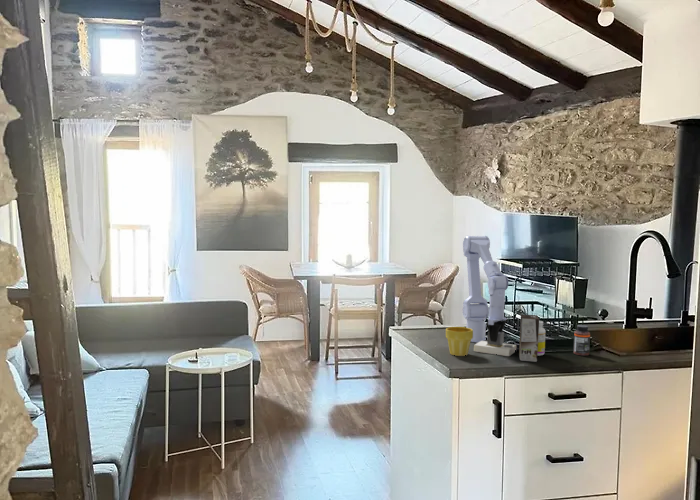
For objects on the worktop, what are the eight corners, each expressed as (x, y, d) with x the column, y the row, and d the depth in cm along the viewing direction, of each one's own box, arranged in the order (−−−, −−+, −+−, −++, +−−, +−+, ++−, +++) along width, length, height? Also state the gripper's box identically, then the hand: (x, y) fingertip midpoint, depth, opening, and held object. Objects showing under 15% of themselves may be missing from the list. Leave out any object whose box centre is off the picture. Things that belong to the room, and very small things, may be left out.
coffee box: (537, 362, 246) (539, 319, 245) (519, 360, 248) (521, 318, 246) (535, 356, 255) (537, 314, 254) (518, 355, 257) (520, 313, 255)
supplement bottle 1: (524, 352, 262) (525, 319, 261) (541, 352, 262) (542, 319, 261) (530, 356, 255) (531, 323, 254) (547, 356, 256) (548, 323, 255)
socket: (481, 346, 270) (481, 338, 269) (515, 351, 263) (516, 343, 263) (473, 351, 261) (473, 343, 261) (508, 356, 254) (509, 348, 254)
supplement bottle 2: (577, 351, 265) (579, 323, 264) (592, 354, 260) (593, 326, 259) (570, 354, 260) (571, 325, 260) (584, 356, 256) (586, 327, 255)
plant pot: (442, 351, 260) (442, 326, 259) (467, 351, 261) (468, 326, 260) (448, 357, 250) (449, 331, 249) (475, 357, 251) (476, 332, 250)
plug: (490, 346, 265) (491, 330, 264) (503, 348, 262) (504, 332, 262) (487, 348, 261) (487, 332, 261) (500, 350, 259) (500, 334, 258)
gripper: (501, 309, 252) (500, 345, 253) (512, 304, 265) (510, 338, 266) (483, 307, 255) (482, 342, 257) (494, 302, 268) (493, 335, 269)
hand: (495, 340), depth 261 cm, fingers closed on plug, 4 cm apart
